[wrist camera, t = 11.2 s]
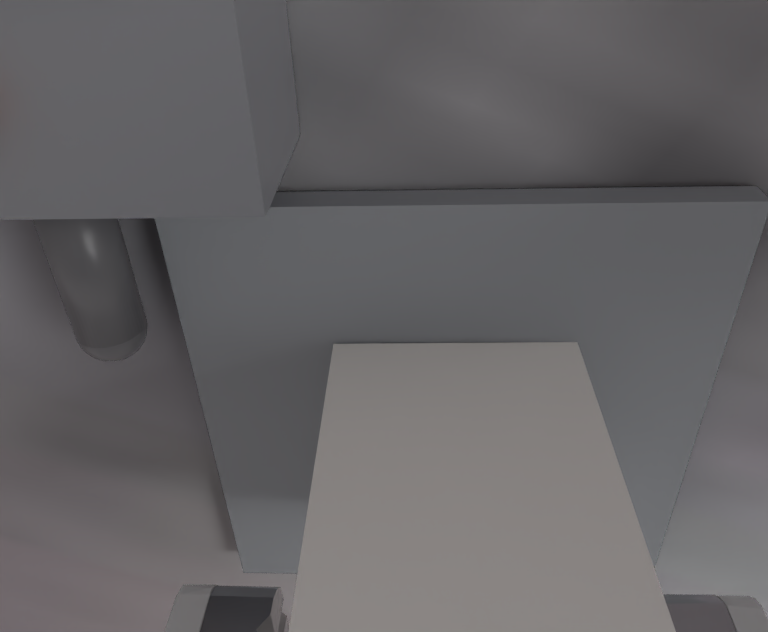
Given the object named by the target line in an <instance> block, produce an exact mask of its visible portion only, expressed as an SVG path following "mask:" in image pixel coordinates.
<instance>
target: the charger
mask: <svg viewBox="0 0 768 632" xmlns="http://www.w3.org/2000/svg"><path fill="white" fill-rule="evenodd" d="M288 632H676V630H675V628H674V625H673V622H672V619H671V616H670V613H669V610H668V607H667V604H666V601H665V598H664V595H663V592H662V589H661V586H660V583H659V581H658V578H657V575H656V572H655V569H654V566H653V563H652V560H651V557H650V554H649V551H648V548H647V545H646V542H645V539H644V536H643V533H642V531H641V528H640V525H639V522H638V519H637V516H636V513H635V510H634V507H633V504H632V501H631V498H630V495H629V492H628V489H627V486H626V484H625V481H624V478H623V475H622V472H621V469H620V466H619V463H618V460H617V457H616V454H615V451H614V448H613V445H612V442H611V439H610V437H609V434H608V431H607V428H606V425H605V422H604V419H603V416H602V413H601V410H600V407H599V404H598V401H597V398H596V395H595V392H594V390H593V387H592V384H591V381H590V378H589V375H588V372H587V369H586V366H585V363H584V360H583V357H582V354H581V351H580V348H579V345H578V342H511V343H369V344H333V350H332V356H331V362H330V369H329V375H328V382H327V388H326V394H325V401H324V407H323V413H322V420H321V426H320V433H319V439H318V445H317V452H316V458H315V464H314V471H313V477H312V484H311V490H310V496H309V503H308V509H307V516H306V522H305V528H304V535H303V541H302V547H301V554H300V560H299V567H298V573H297V579H296V586H295V592H294V599H293V605H292V611H291V618H290V624H289V630H288Z"/></svg>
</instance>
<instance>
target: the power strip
mask: <svg viewBox="0 0 768 632" xmlns="http://www.w3.org/2000/svg"><path fill="white" fill-rule="evenodd" d="M299 137H300V127H299V117H298V108H297V98H296V89H295V80H294V70H293V61H292V52H291V42H290V33H289V23H288V14H287V5H286V0H0V220H30V219H32V220H33V222H34V225H35V228H36V231H37V233H38V236H39V239H40V241H41V244H42V247H43V250H44V252H45V255H46V258H47V261H48V263H49V266H50V269H51V272H52V274H53V277H54V280H55V282H56V285H57V288H58V291H59V293H60V296H61V299H62V302H63V304H64V307H65V310H66V313H67V315H68V318H69V321H70V323H71V326H72V329H73V332H74V334H75V337H76V340H77V342H78V344H79V345H80V347H81V348H82V349H83V350H84V351H85V352H86V353H87V354H89V355H90V356H92V357H94V358H96V359H99V360H102V361H119V360H123V359H126V358H128V357H130V356H131V355H133V354H134V353H135V352H137V351H138V350H139V348H140V347H141V346H142V344H143V343H144V340H145V338H146V335H147V320H146V316H145V312H144V309H143V305H142V302H141V298H140V295H139V291H138V288H137V284H136V281H135V277H134V274H133V270H132V267H131V263H130V260H129V256H128V253H127V249H126V246H125V242H124V239H123V235H122V232H121V228H120V225H119V221H118V219H124V218H218V217H266V215H267V213H268V210H269V208H270V205H271V203H272V201H273V198H274V196H275V194H276V191H277V189H278V186H279V184H280V182H281V179H282V177H283V175H284V172H285V170H286V167H287V165H288V163H289V160H290V158H291V156H292V153H293V151H294V148H295V146H296V144H297V141H298V139H299Z"/></svg>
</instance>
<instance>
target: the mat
mask: <svg viewBox="0 0 768 632" xmlns="http://www.w3.org/2000/svg"><path fill="white" fill-rule="evenodd" d="M767 216H768V197H767V196H766V195H765V194H764V193H763V192H762V191H761V190H760V189H759V188H758V187H757V186H702V187H624V188H545V189H466V190H387V191H308V192H276V194H275V196H274V198H273V201H272V203H271V205H270V208H269V210H268V213H267V215H266V217H218V218H155V222H156V226H157V230H158V234H159V238H160V242H161V246H162V250H163V254H164V258H165V262H166V266H167V270H168V274H169V278H170V282H171V286H172V290H173V294H174V298H175V302H176V306H177V310H178V314H179V318H180V321H181V325H182V329H183V333H184V337H185V341H186V345H187V349H188V353H189V357H190V361H191V365H192V369H193V373H194V377H195V381H196V385H197V389H198V393H199V397H200V401H201V405H202V409H203V413H204V417H205V421H206V425H207V429H208V433H209V437H210V441H211V445H212V449H213V453H214V457H215V461H216V465H217V469H218V473H219V477H220V481H221V485H222V489H223V493H224V497H225V501H226V505H227V509H228V513H229V517H230V520H231V524H232V528H233V532H234V536H235V540H236V544H237V548H238V552H239V556H240V560H241V564H242V568H243V572H244V573H287V574H297V573H298V567H299V560H300V554H301V547H302V541H303V535H304V528H305V522H306V516H307V509H308V503H309V496H310V490H311V484H312V477H313V471H314V464H315V458H316V452H317V445H318V439H319V433H320V426H321V420H322V413H323V407H324V401H325V394H326V388H327V382H328V375H329V369H330V362H331V356H332V350H333V344H369V343H511V342H578V345H579V348H580V351H581V354H582V357H583V360H584V363H585V366H586V369H587V372H588V375H589V378H590V381H591V384H592V387H593V390H594V392H595V395H596V398H597V401H598V404H599V407H600V410H601V413H602V416H603V419H604V422H605V425H606V428H607V431H608V434H609V437H610V439H611V442H612V445H613V448H614V451H615V454H616V457H617V460H618V463H619V466H620V469H621V472H622V475H623V478H624V481H625V484H626V486H627V489H628V492H629V495H630V498H631V501H632V504H633V507H634V510H635V513H636V516H637V519H638V522H639V525H640V528H641V531H642V533H643V536H644V539H645V542H646V545H647V548H648V551H649V554H650V557H651V560H652V563H653V566H654V568H655V565H656V561H657V558H658V555H659V552H660V549H661V546H662V543H663V540H664V537H665V533H666V530H667V527H668V524H669V521H670V518H671V515H672V512H673V509H674V505H675V502H676V499H677V496H678V493H679V490H680V487H681V484H682V481H683V477H684V474H685V471H686V468H687V465H688V462H689V459H690V456H691V453H692V449H693V446H694V443H695V440H696V437H697V434H698V431H699V428H700V425H701V421H702V418H703V415H704V412H705V409H706V406H707V403H708V400H709V397H710V393H711V390H712V387H713V384H714V381H715V378H716V375H717V372H718V369H719V365H720V362H721V359H722V356H723V353H724V350H725V347H726V344H727V341H728V337H729V334H730V331H731V328H732V325H733V322H734V319H735V316H736V313H737V309H738V306H739V303H740V300H741V297H742V294H743V291H744V288H745V285H746V281H747V278H748V275H749V272H750V269H751V266H752V263H753V260H754V257H755V253H756V250H757V247H758V244H759V241H760V238H761V235H762V232H763V229H764V225H765V222H766V219H767Z"/></svg>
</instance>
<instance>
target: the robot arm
mask: <svg viewBox="0 0 768 632" xmlns="http://www.w3.org/2000/svg"><path fill="white" fill-rule="evenodd" d="M664 598H665V601H666V604H667V607H668V610H669V613H670V616H671V619H672V622H673V625H674V628H675V630H676V632H768V619H767V617H766V614H765V612H764V610H763V608H762V606H761V604H760V603H759V602H758V601H757V600H756V599H755V598H753V597H750V596H716V595H664ZM282 605H283V595H282V592H281V588H280V587H252V586H218V585H183V586H182V588H181V589H180V591H179V593H178V594H177V596H176V598H175V601H174V605H173V608H172V611H171V614H170V617H169V620H168V623H167V626H166V629H165V632H288V630H289V625H288V619H287V616H286V615H285V614H284V613H282V612H281V611H282Z"/></svg>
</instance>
